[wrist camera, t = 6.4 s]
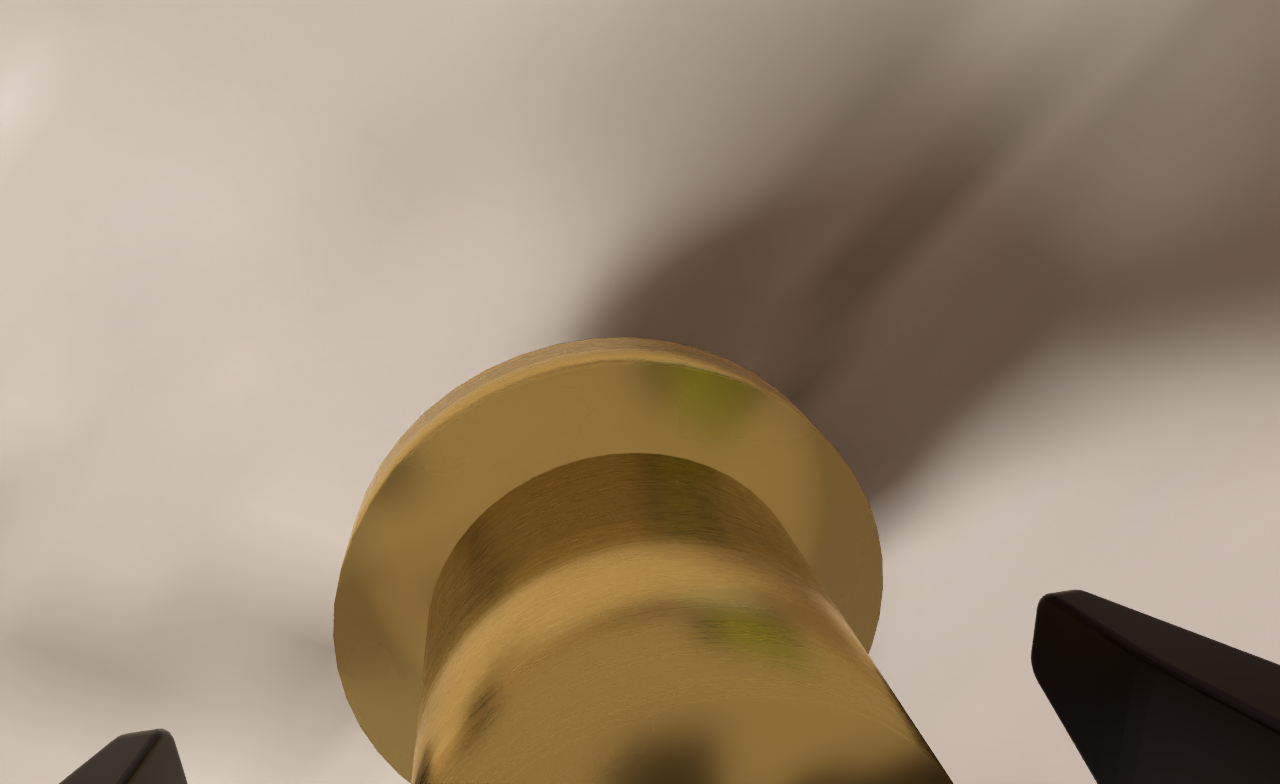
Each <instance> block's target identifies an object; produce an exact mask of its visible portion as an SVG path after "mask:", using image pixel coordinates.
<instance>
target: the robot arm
mask: <svg viewBox="0 0 1280 784" xmlns="http://www.w3.org/2000/svg"><path fill="white" fill-rule="evenodd" d="M1031 662H1032V668H1033V671H1034V674H1035V677H1036V679H1037V681H1038V683H1039V684H1040V686H1041V688H1042V690H1043V691H1044V693H1045V695H1046V696H1047V698H1048V700H1049V702H1050V703H1051V705H1052V707H1053V708H1054V710H1055V712H1056V714H1057V715H1058V717H1059V719H1060V720H1061V722H1062V724H1063V725H1064V727H1065V729H1066V731H1067V732H1068V734H1069V736H1070V737H1071V739H1072V741H1073V743H1074V744H1075V746H1076V748H1077V749H1078V751H1079V753H1080V755H1081V756H1082V758H1083V760H1084V761H1085V763H1086V765H1087V767H1088V768H1089V770H1090V772H1091V773H1092V775H1093V777H1094V779H1095V780H1096V782H1097V784H1280V665H1278V664H1276V663H1273V662H1270V661H1268V660H1265V659H1263V658H1260V657H1257V656H1255V655H1252V654H1249V653H1247V652H1244V651H1241V650H1239V649H1236V648H1233V647H1231V646H1228V645H1226V644H1223V643H1220V642H1218V641H1215V640H1212V639H1210V638H1207V637H1204V636H1202V635H1199V634H1196V633H1194V632H1191V631H1188V630H1186V629H1183V628H1181V627H1178V626H1175V625H1173V624H1170V623H1167V622H1165V621H1162V620H1159V619H1157V618H1154V617H1151V616H1149V615H1146V614H1143V613H1141V612H1138V611H1136V610H1133V609H1130V608H1128V607H1125V606H1122V605H1120V604H1117V603H1114V602H1112V601H1109V600H1106V599H1104V598H1101V597H1098V596H1096V595H1093V594H1091V593H1088V592H1085V591H1082V590H1069V591H1062V592H1056V593H1049V594H1046V595H1045V596H1043V597H1042V598H1041V599H1040V601H1039V603H1038V607H1037V613H1036V621H1035V628H1034V636H1033V644H1032V651H1031ZM59 784H187V780H186V777H185V774H184V770H183V767H182V764H181V761H180V757H179V754H178V751H177V748H176V744H175V741H174V739H173V737H172V735H171V734H170V733H169V732H168V731H166V730H164V729H154V730H147V731H141V732H134V733H128V734H124V735H121V736H119V737H117V738H116V739H114V740H113V741H112V742H110V743H109V744H108V745H107V746H105V747H104V748H103V749H102V750H100V751H99V752H98V753H97V754H95V755H94V756H93V757H92V758H90V759H89V760H88V761H87V762H85V763H84V764H83V765H82V766H81V767H79V768H78V769H77V770H76V771H74V772H73V773H72V774H71V775H69V776H68V777H67V778H66V779H64V780H63V781H62V782H61V783H59Z"/></svg>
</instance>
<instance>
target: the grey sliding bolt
mask: <svg viewBox="0 0 1280 784" xmlns="http://www.w3.org/2000/svg"><path fill="white" fill-rule="evenodd" d="M882 590H883V573H882V554H881V548H880V542H879V537H878V531H877V527H876V524H875V521H874V518H873V515H872V512H871V509H870V506H869V503H868V500H867V498H866V496H865V494H864V492H863V491H862V489H861V487H860V485H859V483H858V481H857V479H856V477H855V475H854V473H853V472H852V470H851V469H850V468H849V466H848V465H847V464H846V462H845V461H844V460H843V458H842V457H841V455H840V454H839V453H838V451H837V450H836V449H835V447H834V446H833V445H832V444H831V443H830V442H829V441H828V440H827V439H826V438H825V437H824V436H823V435H822V434H821V432H820V431H819V430H818V429H817V428H816V427H815V426H814V425H813V424H812V423H811V422H810V421H809V420H808V419H807V418H806V417H805V415H804V414H803V413H802V412H801V411H800V410H799V409H798V408H797V407H796V406H795V405H794V404H793V403H792V402H791V401H790V400H789V399H788V398H787V397H786V396H785V395H784V394H782V393H781V392H780V391H778V390H777V389H776V388H774V387H773V386H772V385H770V384H769V383H768V382H766V381H765V380H764V379H762V378H761V377H760V376H758V375H756V374H755V373H753V372H751V371H749V370H747V369H745V368H743V367H742V366H740V365H738V364H736V363H734V362H732V361H730V360H728V359H726V358H723V357H720V356H718V355H715V354H712V353H710V352H707V351H704V350H701V349H699V348H695V347H691V346H686V345H682V344H677V343H673V342H668V341H664V340H653V339H642V338H631V337H622V338H595V339H587V340H581V341H575V342H568V343H562V344H556V345H553V346H549V347H546V348H543V349H539V350H536V351H532V352H529V353H526V354H522V355H519V356H517V357H515V358H512V359H510V360H508V361H506V362H503V363H501V364H499V365H496V366H494V367H492V368H490V369H487V370H485V371H484V372H482V373H480V374H479V375H477V376H475V377H474V378H472V379H470V380H469V381H467V382H465V383H464V384H462V385H460V386H459V387H457V388H455V389H454V390H452V391H451V392H450V393H449V394H447V395H446V396H445V397H444V398H442V399H441V400H440V401H439V402H437V403H436V404H435V405H433V406H432V407H431V408H430V409H428V410H427V411H426V412H425V413H424V414H423V415H422V416H421V417H420V418H419V419H418V420H417V421H416V422H415V423H414V424H413V425H412V426H411V427H410V428H409V429H408V430H407V431H406V432H405V434H404V435H403V436H402V437H401V438H400V439H399V441H398V442H397V443H396V445H395V446H394V447H393V449H392V450H391V452H390V453H389V454H388V456H387V457H386V458H385V460H384V461H383V462H382V464H381V465H380V467H379V469H378V471H377V473H376V475H375V476H374V478H373V480H372V482H371V484H370V486H369V488H368V490H367V491H366V493H365V496H364V498H363V501H362V504H361V507H360V510H359V512H358V515H357V518H356V521H355V523H354V527H353V530H352V534H351V537H350V540H349V544H348V547H347V551H346V554H345V558H344V561H343V565H342V568H341V572H340V577H339V583H338V588H337V593H336V598H335V603H334V633H333V637H334V645H335V653H336V660H337V668H338V671H339V675H340V678H341V681H342V685H343V688H344V691H345V695H346V698H347V700H348V702H349V704H350V706H351V708H352V710H353V713H354V715H355V717H356V719H357V721H358V723H359V725H360V727H361V728H362V730H363V731H364V732H365V734H366V735H367V737H368V738H369V740H370V741H371V743H372V744H373V745H374V747H375V748H376V750H377V751H378V752H379V753H380V754H381V755H382V757H383V758H384V759H385V760H386V761H387V762H388V763H389V764H390V765H391V766H392V767H393V768H394V769H395V770H396V771H397V772H398V773H399V774H400V775H401V776H402V777H403V778H405V779H406V780H407V781H408V782H410V783H411V784H953V782H952V781H951V779H950V778H949V776H948V775H947V773H946V772H945V770H944V769H943V767H942V765H941V764H940V762H939V761H938V759H937V758H936V756H935V755H934V753H933V752H932V750H931V749H930V747H929V746H928V744H927V743H926V741H925V740H924V738H923V737H922V735H921V734H920V732H919V731H918V729H917V728H916V726H915V725H914V723H913V722H912V720H911V719H910V717H909V716H908V714H907V713H906V711H905V710H904V708H903V707H902V705H901V703H900V702H899V700H898V699H897V697H896V696H895V694H894V693H893V691H892V690H891V688H890V687H889V685H888V684H887V682H886V681H885V679H884V678H883V676H882V675H881V673H880V672H879V670H878V669H877V667H876V666H875V664H874V663H873V661H872V660H871V658H870V657H869V655H868V653H869V651H870V648H871V646H872V642H873V638H874V635H875V631H876V627H877V623H878V620H879V614H880V606H881V598H882Z"/></svg>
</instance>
